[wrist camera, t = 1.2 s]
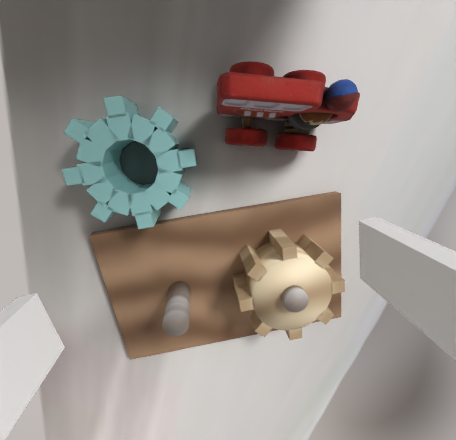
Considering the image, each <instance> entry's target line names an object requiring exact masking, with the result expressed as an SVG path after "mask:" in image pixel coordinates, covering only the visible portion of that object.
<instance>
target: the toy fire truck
mask: <svg viewBox="0 0 456 440" xmlns="http://www.w3.org/2000/svg"><path fill="white" fill-rule="evenodd" d="M325 82H326V77H325V75H324V74H323V73H321V72H318V71H311V70H298V71H292V72H289V73H287V74H285V75H284V76H283V77H275V76H274V70H273V68H272V67H270V66H269V65H267V64H264V63H260V62H241V63H237V64H235V65H233V66H232V67H231V68H230V72H228V73H224V74H222V75H220V77H219V79H218V83H217V113H218V114H219V115H220V116H226V117H239V118H243V123H242V128H227V129H226V137H225V142H226V144H229V145H247V146H265V145H266V143H267V131H266V130H263V129H256V128H252V119H266V120H281V121H287V122H286V123H285V125H284V133H278V134H277V135H276V137H275V148H276V149H284V150H299V151H314V150H315V147H316V140H317V138H316V136H313V135H309V131H310V130H311V129H314V128H316V127H318V126H319V125H320V124H332V123H337V122H342V121H347V120H350V119H351V118H352V116H353V115H354V114H355V112H356V110H357V106H358V101H359V97H360V93H359V92H358V90H357V87H356V85H355V84H354V83H353V82H352V81H350V80H346V79H345V80H339V81H337V82H335V83H333V84H332V85H331V86H330V87H329V88H327V87H325Z"/></svg>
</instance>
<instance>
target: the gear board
mask: <svg viewBox="0 0 456 440" xmlns="http://www.w3.org/2000/svg"><path fill="white" fill-rule="evenodd" d="M89 238H90V241H91V244H92V247H93V250H94V253H95V256H96V259H97V262H98V265H99V268H100V271H101V274H102V277H103V280H104V282H105V285H106V288H107V291H108V294H109V297H110V300H111V303H112V306H113V309H114V312H115V315H116V318H117V321H118V324H119V327H120V330H121V333H122V336H123V339H124V342H125V345H126V348H127V351H128V354H129V357H130V360H131V359H136V358H141V357H146V356H151V355H156V354H161V353H166V352H171V351H175V350H180V349H185V348H190V347H195V346H200V345H205V344H210V343H215V342H220V341H225V340H230V339H235V338H240V337H245V336H250V335H255V334H260V335H262V336H264V337H265V336H266V335H267V334H268V333H269V331H274V330H285V331H286V333H287V335H288V337H289V339H290V340H294V339H298V338H302V327H305V326H307V325H309V324H311V323H314V322H319V321H321V322H323V323H324V324H327V323H328V322H329V321H330V320H331V319H334V318H338V317H341V292H345V280H344V279H343V278H342V277H341V193H338V192H330V193H324V194H318V195H312V196H306V197H300V198H294V199H288V200H282V201H276V202H270V203H264V204H258V205H252V206H246V207H240V208H234V209H228V210H222V211H216V212H210V213H204V214H198V215H192V216H187V217H181V218H175V219H169V220H163V221H157V222H156V223H155V225H154V227H149V228H143V229H138V226H137V225H133V226H127V227H121V228H115V229H109V230H103V231H97V232H93V233H92V234H91V235H89Z"/></svg>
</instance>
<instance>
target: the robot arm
mask: <svg viewBox="0 0 456 440" xmlns="http://www.w3.org/2000/svg"><path fill="white" fill-rule="evenodd" d="M359 244H360V278H361V279H362V280H363V281H364V282H365V283H366V284H368V285H369V286H370V287H371V288H372V289H373V290H374V291H376V292H377V293H378V294H379V295H380V296H381V297H383V298H384V299H385V300H386V301H387V302H388V303H390V304H391V305H392V306H393V307H394V308H395V309H396V310H398V311H399V312H400V313H401V314H402V315H404V316H405V317H406V318H407V319H408V320H409V321H410V322H412V323H413V324H414V325H415V326H416V327H417V328H419V329H420V330H421V331H422V332H423V333H424V334H425V335H427V336H428V337H429V338H430V339H431V340H432V341H433V342H435V343H436V344H437V345H438V346H439V347H440V348H442V349H443V350H444V351H445V352H446V353H447V354H448V355H450V356H451V357H452V358H453V359H454V360H456V252H455V251H453V250H451V249H449V248H446V247H444V246H442V245H439V244H437V243H435V242H433V241H430V240H428V239H426V238H424V237H421V236H419V235H417V234H414V233H412V232H410V231H408V230H405V229H403V228H401V227H398V226H396V225H394V224H392V223H389V222H387V221H385V220H383V219H380V218H378V217H374V218H370V219H365V220H361V221H359ZM64 348H65V347H64V345H63V343H62V341H61V339H60V337H59V335H58V333H57V331H56V330H55V328H54V326H53V324H52V322H51V320H50V318H49V316H48V314H47V312H46V310H45V308H44V306H43V304H42V303H41V301H40V299H39V297H38V295H37V293H34V294H30V295H26V296H21V297H17V298H15V300H13V301H12V302H11V303H10V304H8V305H7V306H6V307H5V308H4V309H3V310H2V311H0V440H5V439H6V438H7V436H8V434H9V433H10V431H11V430H12V428H13V427H14V425H15V424H16V422H17V421H18V419H19V417H20V416H21V414H22V413H23V411H24V410H25V408H26V407H27V405H28V403H29V402H30V400H31V399H32V397H33V396H34V394H35V393H36V391H37V390H38V388H39V386H40V385H41V383H42V382H43V380H44V379H45V377H46V376H47V374H48V373H49V371H50V369H51V368H52V366H53V365H54V363H55V362H56V360H57V359H58V357H59V355H60V354H61V352H62V351H63V349H64Z"/></svg>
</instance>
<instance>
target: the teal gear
mask: <svg viewBox="0 0 456 440" xmlns="http://www.w3.org/2000/svg"><path fill="white" fill-rule="evenodd" d="M103 99H104V102H105V106H106V110H107V114H108V116H106V120H105V119H102V118H100V119H99V120H98V121H97V122H90V121H85V120H80V119H75V118H72V120H71V121H70V123H69V125H68V127H67V128H66V130H65V132H64V133H65V134H66V135H68V136H69V137H71V138H72V139H74V140H75V141H77V142H78V143H80V144H79V148H78V152H77V157H76V159H78V160H81V161H84V162H86V163H81V164H76V165H77V166H75V167H70V168H65V169H61V171H62V174H63V176H64V179H65V182H66V185H67V186H68V185H75V184H81V183H82V184H83V186H84V185H91V184H93V185H92V186H91V187H90V188H88V189H87V190H86V191H87V192H88V193H89V194H90V195H91V196H92V197H93V198H94V199H95V200H96V201H97V202H98V203H97V204H96V206H95V207H94V209H93V210H92V212H91V215H93V216H94V217H96V218H98V219H99V220H101V221H103V222H104V223H105V222H106V221H107V220H108V219H110V218H111V217H112V216H113V215H114V214H115V213H120V214H123V215H126V216H128V215H129V214H130V212H132V216H135V218H136V222H137V226H138V229H143V228H149V227H154V225H155V223H156V221H157V219H158V218H159V216H160V214H161V209H160V208H161V207H163V206H164V205H165V204H166V203H167V202H169V203H171V204H172V205H174V206H175V207H177V208H178V209H180V210H181V209H182V208H183V206H184V205H185V203H186V202H187V201H188V199H189V197H190V191H191V188H190V187H188V186H187V185H185V184H184V183H182V182H181V179H182V176H183V173H184V169H183V168H185V167H192V166H196V164H197V161H196V155H195V150H194V148H192V149H186V150H182V148H179V149H174V148H175V147H176V146H178V145H179V142H178V141H177V140H176V139H175V138H174V136H173V135H172V134H171V132H172V131H173V129H174V128H175V126H176V125H177V123H178V121H177V120H176V119H175V118H174V117H173V116H171V115H170V114H169V113H167V112H166V111H165V110H164V109H162V108H161V107H160V106H159V107H158V109H157V110H156V112H155V113H154V115H153V116H152V118H151V120H149V119H146V118H144V117H141V116H139V115H138V111H137V106H136V104H134V103H133V102H131V101H130V100H128V99H126V98H125V97H123V96H121V95H120V96H113V97H105V98H103ZM131 141H137V142H140V143H142V144H145V145H146V146H147V147H148V148H149V150H150V151H151V152H152V153H153V154H154V155H155V157H156V162H157V166H158V173H157V177H156V180H155V182H154V183H152V184H146V185H141V184H138V183H135V182H132V181H130V180H129V179H128V177H127V176H126V175H125V174H124V173H123V172H122V168H121V165H120V161H119V160H120V156H121V153H122V149H123V148H124V147H126V146H127V145H128V144H129V143H130V142H131Z"/></svg>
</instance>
